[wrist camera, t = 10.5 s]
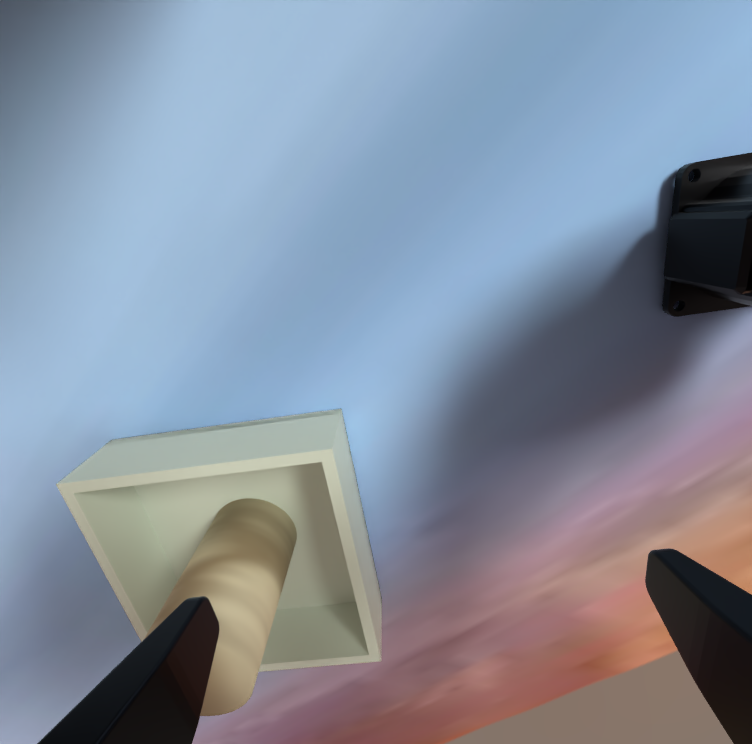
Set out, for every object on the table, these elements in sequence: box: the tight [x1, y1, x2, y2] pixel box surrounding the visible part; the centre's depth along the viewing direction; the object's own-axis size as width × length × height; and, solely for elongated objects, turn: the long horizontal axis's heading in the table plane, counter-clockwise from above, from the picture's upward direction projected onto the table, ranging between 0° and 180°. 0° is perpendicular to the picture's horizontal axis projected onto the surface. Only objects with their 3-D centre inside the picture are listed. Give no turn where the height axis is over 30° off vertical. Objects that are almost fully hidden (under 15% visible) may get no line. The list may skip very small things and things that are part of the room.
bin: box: [56, 409, 382, 672], centre depth 22 cm, size 13×14×4 cm
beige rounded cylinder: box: [144, 498, 297, 716], centre depth 20 cm, size 5×5×8 cm
